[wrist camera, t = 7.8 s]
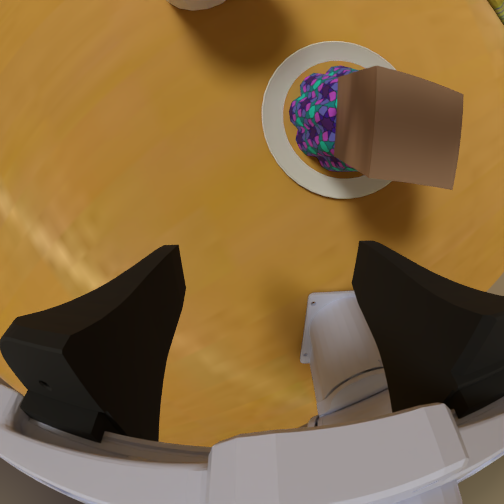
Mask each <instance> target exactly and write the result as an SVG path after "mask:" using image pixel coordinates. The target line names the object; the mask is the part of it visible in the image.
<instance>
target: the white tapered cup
mask: <svg viewBox="0 0 504 504" xmlns="http://www.w3.org/2000/svg"><path fill="white" fill-rule="evenodd" d="M166 1H168V2H169V3H171V4H172V5H174V6H176V7H177V8H179V9H186V10H192V11H195V10H203V9H209V8H212V7H214V6H217V5H219V4H221V3H224V2H225V1H226V0H166Z"/></svg>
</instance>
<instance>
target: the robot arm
mask: <svg viewBox="0 0 504 504" xmlns="http://www.w3.org/2000/svg"><path fill="white" fill-rule="evenodd" d="M352 285H353V289H354V291H338V292H319V293H311V294H310V295H309V296H308V302H307V310H306V318H305V326H304V333H303V341H302V348H301V354H300V362H301V363H310V368H311V373H312V379H313V384H314V390H315V395H316V401H317V409H318V415H316V416H313V417H312V418H311V419H310V420H309V423H308V426H307V427H306V428H295V429H280V430H270V431H262V432H254V433H245V434H239V435H237V436H234V437H231V438H228V439H226V440H223V441H220V442H218V443H216V444H215V445H213V446H212V447H201V446H189V445H179V444H171V443H163V442H158V439H159V417H160V404H161V395H162V387H163V379H164V373H165V367H166V361H167V357H168V353H169V349H170V346H171V343H172V339H173V336H174V333H175V330H176V327H177V324H178V321H179V317H180V314H181V311H182V307H183V302H184V296H185V290H186V285H185V280H184V274H183V269H182V263H181V257H180V251H179V245H164V246H162V247H160V248H158V249H157V250H155V251H154V252H152V253H151V254H149V255H148V256H147V257H145V258H144V259H142V260H141V261H140V262H138V263H137V264H135V265H134V266H133V267H131V268H130V269H128V270H127V271H125V272H124V273H122V274H121V275H119V276H118V277H116V278H115V279H113V280H111V281H110V282H108V283H106V284H105V285H103V286H101V287H99V288H97V289H95V290H93V291H91V292H89V293H87V294H85V295H83V296H81V297H78V298H76V299H74V300H72V301H69V302H67V303H64V304H62V305H59V306H56V307H53V308H50V309H47V310H44V311H40V312H36V313H32V314H28V315H24V316H20V317H17V318H16V319H15V320H14V321H13V322H12V324H11V325H10V326H9V328H8V329H7V331H6V332H5V333H4V335H3V336H2V338H1V339H0V350H1V353H2V355H3V357H4V359H5V361H6V362H7V364H8V365H9V367H10V368H11V369H12V371H13V372H14V373H15V375H16V376H17V377H18V378H19V380H20V381H21V382H22V383H23V385H24V386H25V387H26V388H27V389H28V391H27V393H26V395H25V397H24V396H23V395H22V394H21V393H19V392H18V391H16V390H14V389H11V388H9V387H7V386H5V385H3V384H0V457H1V458H2V459H4V460H5V461H7V462H8V463H9V464H11V465H12V466H14V467H15V468H17V469H18V470H20V471H22V472H23V473H25V474H27V475H28V476H30V477H32V478H34V479H35V480H37V481H39V482H41V483H43V484H45V485H46V486H48V487H50V488H52V489H55V490H56V491H58V492H60V493H63V494H65V495H67V496H69V497H71V498H74V499H76V500H78V501H81V502H83V503H86V504H463V503H462V498H461V495H460V491H459V487H458V484H457V483H459V482H461V481H462V480H465V479H466V478H468V477H470V476H472V475H473V474H475V473H476V472H478V471H480V470H481V469H483V468H485V467H486V466H488V465H489V464H491V463H492V462H494V461H495V460H497V459H498V458H500V457H501V456H502V455H504V296H499V295H495V294H491V293H487V292H483V291H480V290H476V289H473V288H470V287H467V286H464V285H462V284H459V283H456V282H454V281H451V280H449V279H447V278H444V277H442V276H440V275H438V274H435V273H433V272H431V271H429V270H428V269H426V268H424V267H422V266H420V265H418V264H416V263H414V262H413V261H411V260H409V259H407V258H406V257H404V256H402V255H400V254H399V253H397V252H395V251H393V250H391V249H390V248H388V247H386V246H384V245H382V244H380V243H378V242H375V241H359V247H358V253H357V258H356V264H355V269H354V274H353V280H352ZM312 302H315V303H313V304H312ZM305 353H306V354H305Z"/></svg>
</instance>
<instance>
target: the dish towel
mask: <svg viewBox="0 0 504 504" xmlns="http://www.w3.org/2000/svg"><path fill="white" fill-rule="evenodd" d="M487 1H488V2H489V4H490V5H491V6H492V8H493V9H494V10H495V12H496V14H497V15H498V17H499V18H500V20H501V22H502V23H503V25H504V0H487Z"/></svg>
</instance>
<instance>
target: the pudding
mask: <svg viewBox="0 0 504 504" xmlns="http://www.w3.org/2000/svg"><path fill="white" fill-rule="evenodd" d="M327 61H347V62H352V63H355V64H358V65H361V66H363V67H365V68H370V67H373V66H381V67H385V68H389V69H392V70H395V68H394V67H393V66H392V65H391V64H390V63H389V62H387V61H386V60H385V59H384V58H382V57H381V56H380V55H378V54H377V53H375V52H373V51H371V50H369V49H367V48H365V47H362V46H359V45H357V44H354V43H348V42H342V41H325V42H320V43H315V44H311V45H309V46H306V47H304V48H302V49H299V50H297V51H296V52H295V53H293V54H292V55H290V56H289V57H287V58H286V59H285V60H284V61H283V62H282V63H281V64H280V66H279V67H278V68H277V69H276V70H275V72H274V74H273V75H272V77H271V78H270V80H269V82H268V85H267V88H266V90H265V93H264V98H263V104H262V125H263V130H264V135H265V139H266V142H267V144H268V147H269V149H270V152H271V153H272V155H273V157H274V158H275V160H276V161H277V163H278V165H279V166H280V167H281V168H282V169H283V170H284V172H285V173H286V174H287V175H288V176H289V177H290V178H292V179H293V180H294V181H295V182H297V183H298V184H299V185H301V186H303V187H304V188H306V189H308V190H309V191H311V192H314V193H317V194H319V195H322V196H326V197H331V198H336V199H351V198H358V197H363V196H366V195H369V194H372V193H374V192H376V191H378V190H380V189H382V188H384V187H385V186H386V185H388V184H389V183H390V182H392V181H390V180H382V179H373V178H368V177H366V176H365V175H363V176H360V177H357V178H350V179H340V178H334V177H329V176H326V175H323V174H321V173H318V172H317V171H315V170H313V169H312V168H310V167H309V166H308V165H306V164H305V163H304V162H303V161H302V160H301V159H300V158H299V157H298V155H297V154H296V153H295V152H294V150H293V148H292V147H291V145H290V143H289V141H288V139H287V136H286V133H285V129H284V124H283V107H284V102H285V98H286V95H287V93H288V90H289V88H290V87H291V85H292V84H293V82H294V81H295V80H296V79H297V77H298V76H299V75H300V74H301V73H303V72H304V71H305V70H307V69H308V68H310V67H312V66H314V65H316V64H319V63H322V62H327ZM356 71H359V70H355V69H352V68H348V67H344V66H335V67H331V68H330V69H329V70H328V71H327V73H326V74H318V73H313V74H311V75H309V76H308V77H306V78H305V79H304V81H303V82H302V83H301V85H300V90H301V96H300V97H298V98H297V99H295V100H294V101H293V102H292V104H291V107H290V110H289V114H290V121H291V122H292V123H293V124H294V125H295V126H296V127H297V128H298V131H297V136H296V141H297V144H298V146H299V148H300V149H301V150H302V151H303V152H304V153H305V154H306V155H308V156H314V157H317V158H318V160H319V162H320V164H321V166H322V167H324V168H325V169H327V170H329V171H336V172H351V171H357V170H356V169H354V168H352V167H351V166H349V165H348V164H346V163H344V162H343V161H341V160H339V159H338V158H336V157H334V146H335V132H336V115H337V93H338V77H340V76H344V75H347V74H350V73H353V72H356Z"/></svg>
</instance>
